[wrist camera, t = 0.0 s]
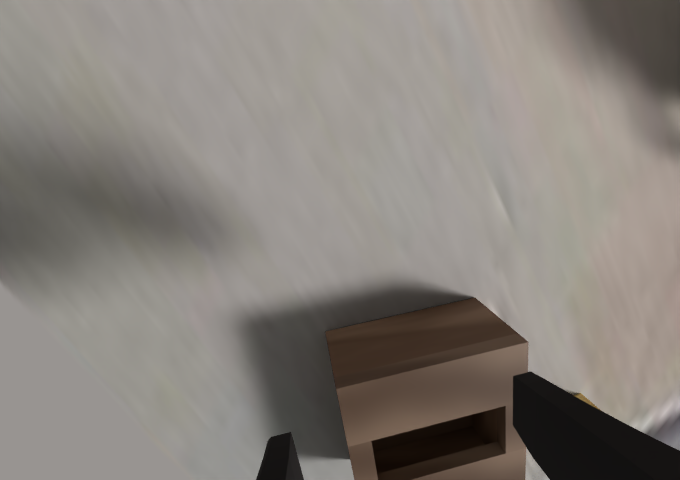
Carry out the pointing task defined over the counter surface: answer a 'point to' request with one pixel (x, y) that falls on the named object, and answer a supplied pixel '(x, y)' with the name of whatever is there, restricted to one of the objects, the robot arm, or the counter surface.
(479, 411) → the coin box
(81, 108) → the counter surface
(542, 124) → the counter surface
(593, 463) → the robot arm
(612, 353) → the counter surface
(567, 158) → the counter surface
